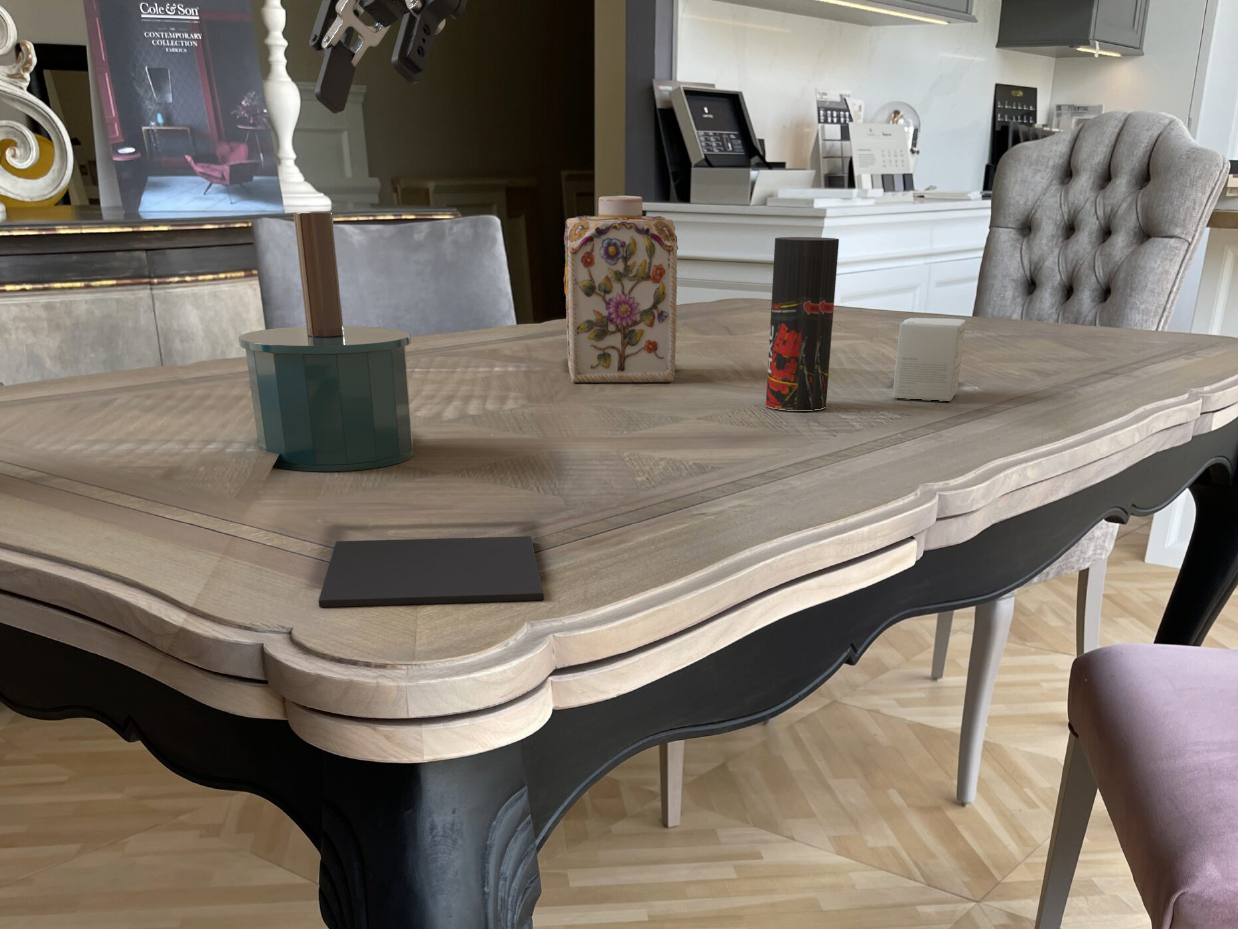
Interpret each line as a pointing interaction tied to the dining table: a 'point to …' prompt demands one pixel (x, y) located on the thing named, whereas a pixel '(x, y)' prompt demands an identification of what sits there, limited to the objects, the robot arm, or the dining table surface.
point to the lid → (321, 303)
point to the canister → (332, 409)
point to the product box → (928, 358)
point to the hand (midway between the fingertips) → (365, 90)
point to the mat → (431, 572)
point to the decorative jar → (621, 294)
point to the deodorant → (801, 322)
